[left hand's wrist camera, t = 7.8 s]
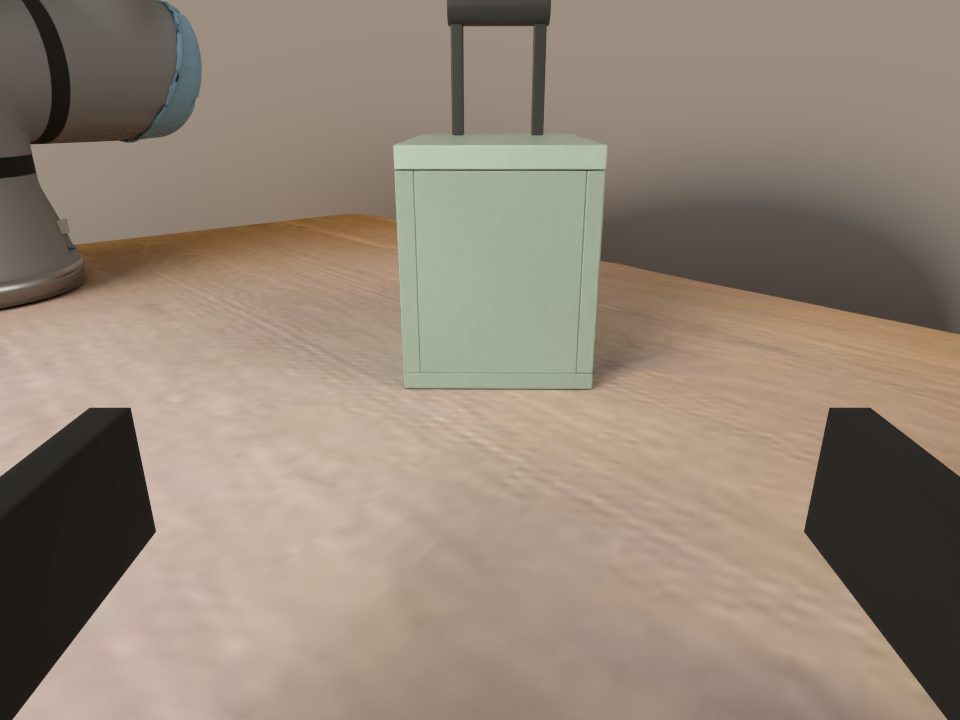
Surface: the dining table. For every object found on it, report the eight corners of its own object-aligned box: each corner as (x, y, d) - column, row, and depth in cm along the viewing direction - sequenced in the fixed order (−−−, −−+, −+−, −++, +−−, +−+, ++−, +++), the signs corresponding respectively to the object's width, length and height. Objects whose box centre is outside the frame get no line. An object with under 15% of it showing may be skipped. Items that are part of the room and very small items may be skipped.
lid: (423, 150, 43) (419, -6, 40) (570, 150, 43) (577, -7, 40) (394, 169, 30) (384, -63, 27) (606, 169, 30) (621, -64, 27)
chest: (427, 313, 46) (422, 152, 42) (564, 314, 46) (572, 152, 42) (404, 388, 34) (394, 170, 30) (592, 389, 34) (606, 170, 30)
